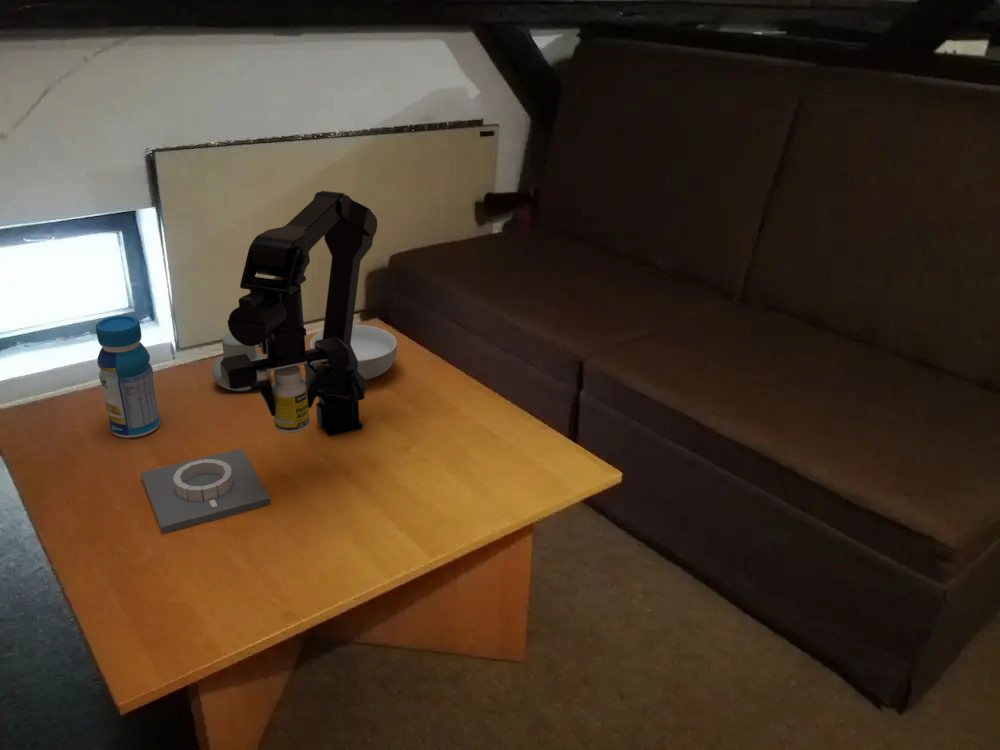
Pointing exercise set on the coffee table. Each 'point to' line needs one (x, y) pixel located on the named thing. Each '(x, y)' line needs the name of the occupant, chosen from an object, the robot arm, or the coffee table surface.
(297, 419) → the supplement bottle
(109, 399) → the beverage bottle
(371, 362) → the cereal bowl
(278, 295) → the robot arm
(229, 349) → the air freshener
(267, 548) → the coffee table surface
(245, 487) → the mount plate
